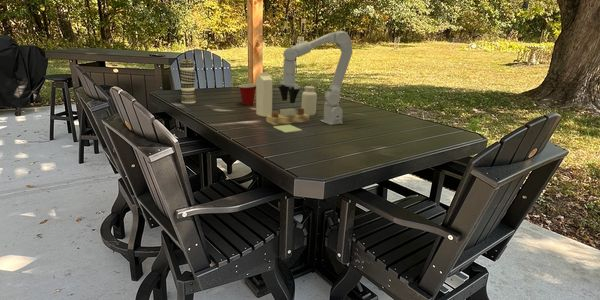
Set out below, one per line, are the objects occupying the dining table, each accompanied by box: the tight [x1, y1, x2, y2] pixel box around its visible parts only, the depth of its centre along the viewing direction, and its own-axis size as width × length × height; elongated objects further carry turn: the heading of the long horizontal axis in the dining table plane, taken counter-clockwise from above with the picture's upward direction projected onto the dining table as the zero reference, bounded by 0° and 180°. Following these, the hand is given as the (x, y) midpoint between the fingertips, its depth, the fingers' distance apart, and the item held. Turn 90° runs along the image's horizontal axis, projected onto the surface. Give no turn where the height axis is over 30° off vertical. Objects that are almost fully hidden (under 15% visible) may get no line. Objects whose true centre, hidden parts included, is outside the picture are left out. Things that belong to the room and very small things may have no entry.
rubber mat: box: [273, 124, 303, 134], centre depth 178 cm, size 11×9×1 cm
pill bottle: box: [300, 85, 318, 117], centre depth 208 cm, size 8×8×15 cm
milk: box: [255, 72, 273, 117], centre depth 202 cm, size 6×6×22 cm
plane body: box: [265, 107, 310, 126], centre depth 192 cm, size 20×8×6 cm, turn 122°
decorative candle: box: [178, 58, 197, 104], centre depth 228 cm, size 9×9×25 cm
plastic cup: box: [238, 83, 256, 107], centre depth 229 cm, size 11×11×12 cm
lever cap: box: [279, 108, 297, 117], centre depth 191 cm, size 7×4×3 cm, turn 122°
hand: (288, 101), depth 190 cm, fingers open, 7 cm apart
